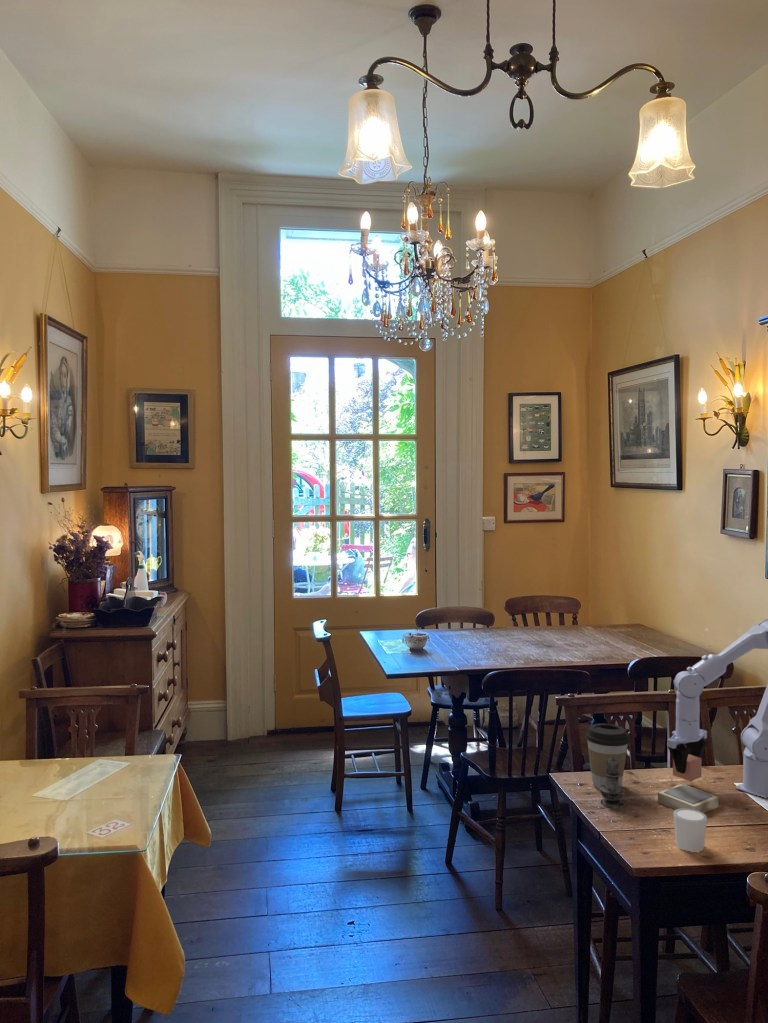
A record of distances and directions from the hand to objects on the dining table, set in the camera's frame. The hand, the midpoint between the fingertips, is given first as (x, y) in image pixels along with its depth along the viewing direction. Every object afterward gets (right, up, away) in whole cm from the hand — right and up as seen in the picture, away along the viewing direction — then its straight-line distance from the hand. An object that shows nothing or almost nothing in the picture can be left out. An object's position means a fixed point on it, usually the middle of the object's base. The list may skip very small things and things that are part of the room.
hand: (687, 769), depth 194 cm
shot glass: (-13, -6, -33) cm, 36 cm away
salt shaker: (-23, -5, -11) cm, 26 cm away
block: (0, -2, 0) cm, 2 cm away
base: (-4, -5, -11) cm, 13 cm away
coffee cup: (-21, -5, +1) cm, 21 cm away
